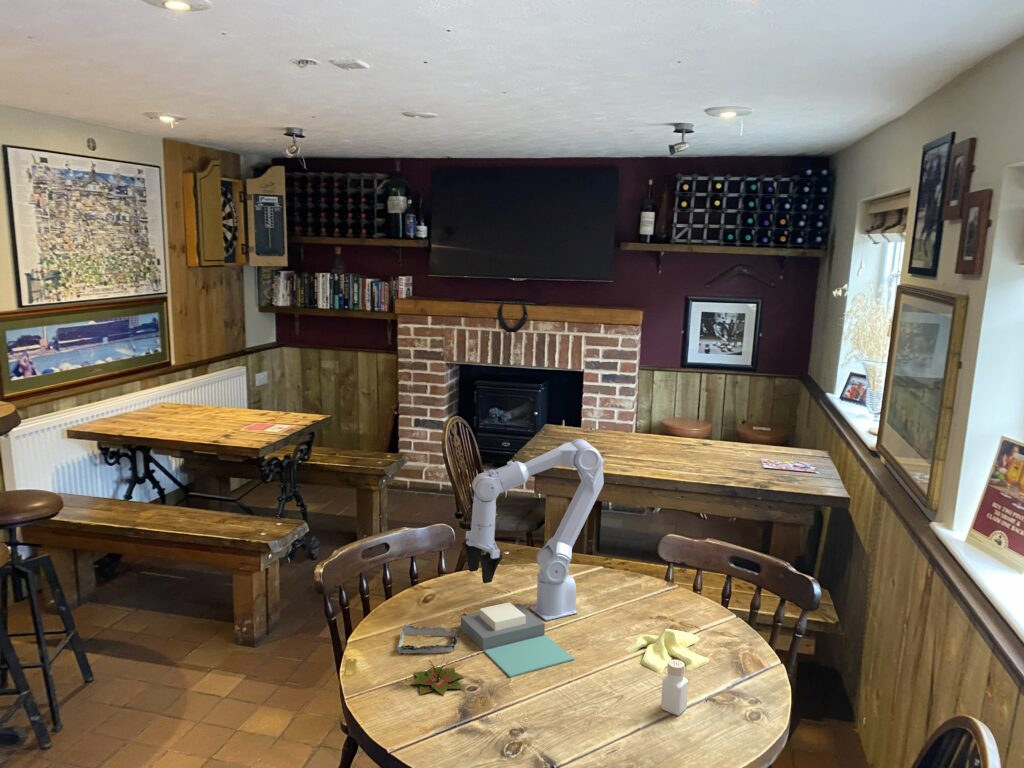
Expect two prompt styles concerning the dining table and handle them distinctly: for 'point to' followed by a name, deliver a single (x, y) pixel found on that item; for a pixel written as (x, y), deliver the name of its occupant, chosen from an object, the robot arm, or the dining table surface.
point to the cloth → (668, 650)
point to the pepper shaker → (674, 688)
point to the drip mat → (528, 656)
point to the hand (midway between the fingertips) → (480, 576)
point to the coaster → (502, 616)
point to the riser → (492, 638)
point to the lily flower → (434, 673)
